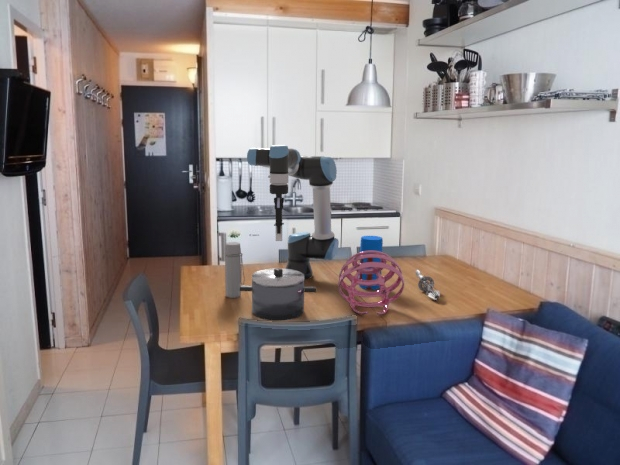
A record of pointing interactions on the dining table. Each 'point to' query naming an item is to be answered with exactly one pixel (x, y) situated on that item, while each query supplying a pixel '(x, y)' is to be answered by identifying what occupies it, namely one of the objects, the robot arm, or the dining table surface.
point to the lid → (278, 278)
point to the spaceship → (427, 285)
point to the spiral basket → (379, 281)
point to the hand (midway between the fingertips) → (278, 240)
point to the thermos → (366, 245)
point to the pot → (277, 301)
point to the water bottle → (233, 269)
